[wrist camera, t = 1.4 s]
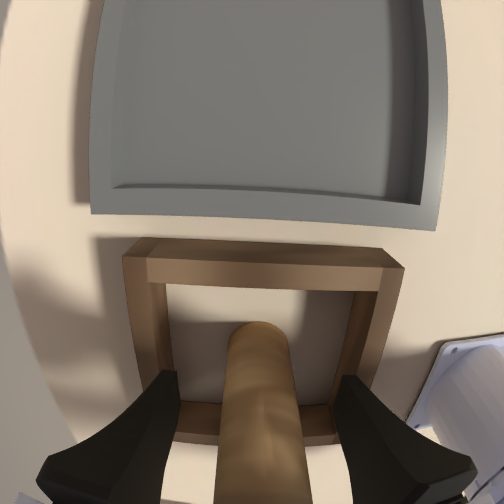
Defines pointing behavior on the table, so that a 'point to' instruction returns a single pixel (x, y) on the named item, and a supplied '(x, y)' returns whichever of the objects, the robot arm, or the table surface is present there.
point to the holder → (269, 277)
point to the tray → (270, 110)
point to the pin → (260, 423)
